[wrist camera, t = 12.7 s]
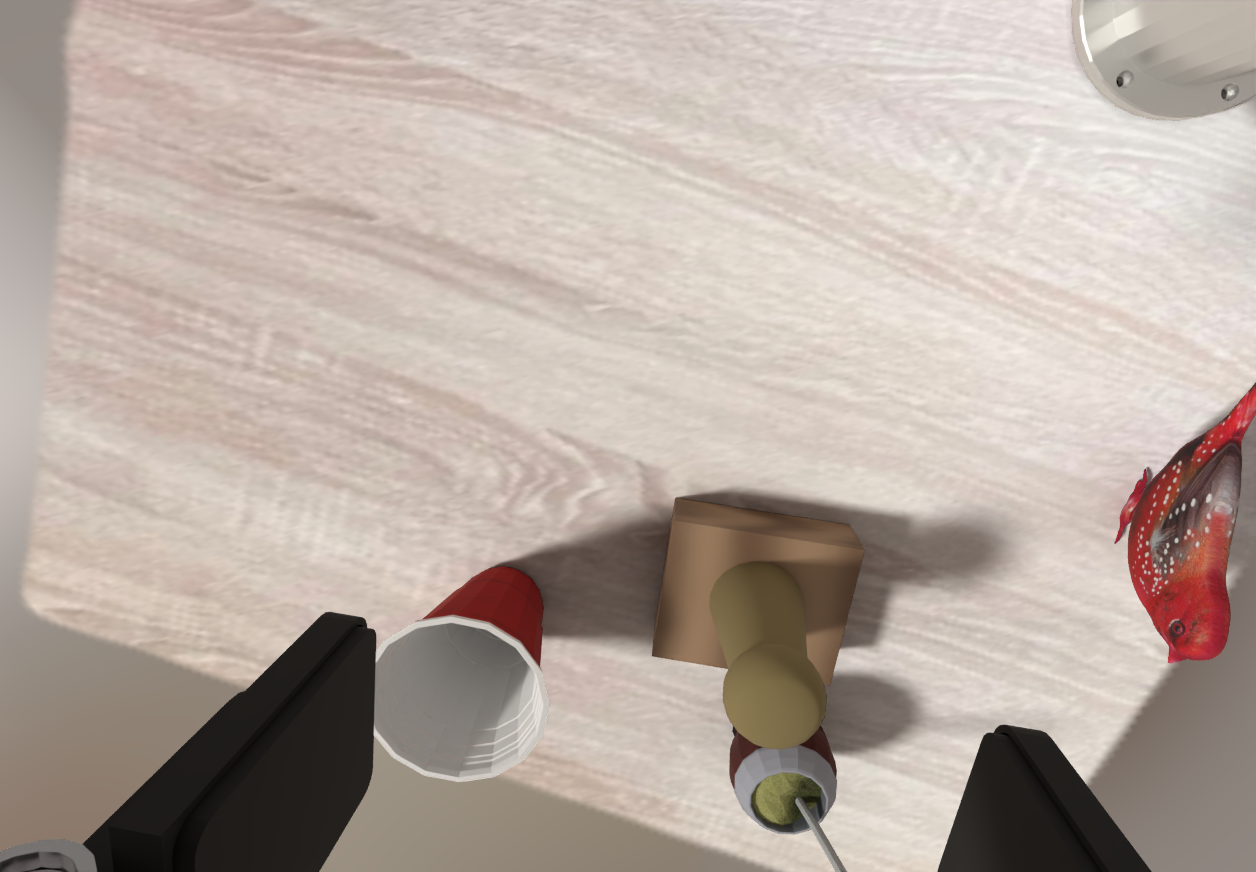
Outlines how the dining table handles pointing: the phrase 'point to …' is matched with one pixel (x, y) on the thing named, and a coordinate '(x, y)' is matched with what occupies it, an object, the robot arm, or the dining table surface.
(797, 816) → the mate gourd
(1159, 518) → the decorative bird figurine
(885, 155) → the dining table surface
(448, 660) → the plastic cup
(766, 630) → the olive pawn figure
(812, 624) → the walnut plinth
